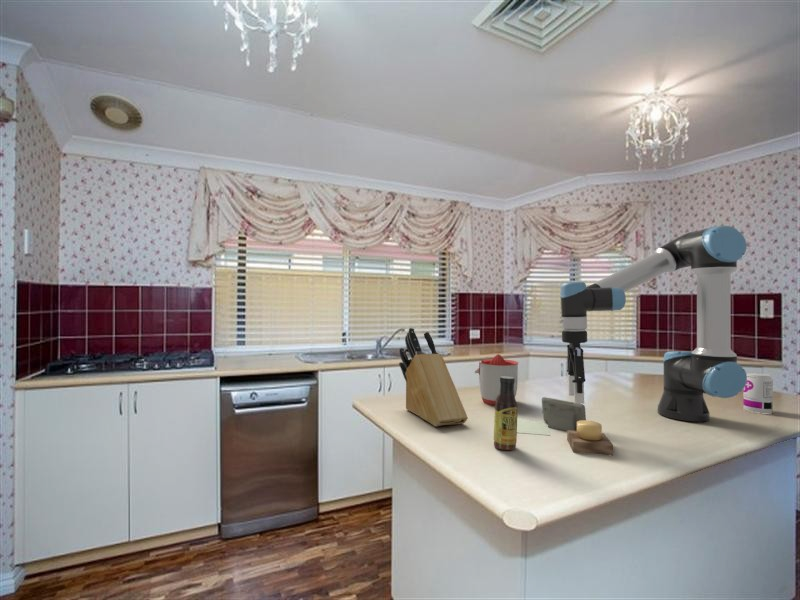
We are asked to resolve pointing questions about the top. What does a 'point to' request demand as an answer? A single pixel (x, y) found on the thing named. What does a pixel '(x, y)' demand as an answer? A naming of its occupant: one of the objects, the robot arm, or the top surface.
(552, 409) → the digital clock
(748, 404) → the supplement can
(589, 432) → the yellow rounded cube
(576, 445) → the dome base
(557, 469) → the top surface
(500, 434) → the sauce bottle
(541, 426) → the pad
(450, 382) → the knife block
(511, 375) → the citrus juicer
